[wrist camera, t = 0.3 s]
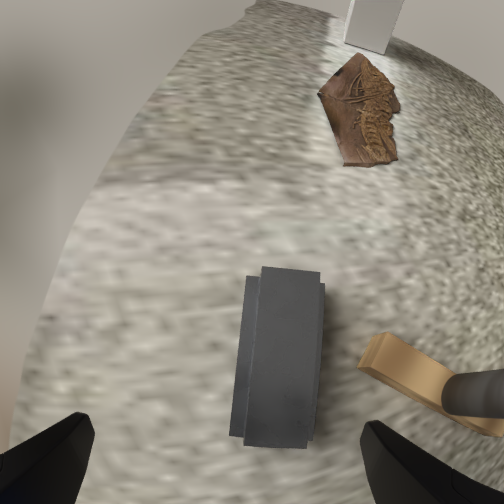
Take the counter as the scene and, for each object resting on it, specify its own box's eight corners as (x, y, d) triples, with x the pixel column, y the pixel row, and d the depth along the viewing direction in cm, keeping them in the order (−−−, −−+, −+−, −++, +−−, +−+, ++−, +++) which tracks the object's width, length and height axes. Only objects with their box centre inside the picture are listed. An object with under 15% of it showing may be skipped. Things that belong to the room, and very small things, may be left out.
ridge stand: (307, 435, 21) (321, 448, 16) (229, 430, 21) (227, 443, 16) (318, 290, 25) (334, 273, 21) (246, 282, 25) (247, 264, 21)
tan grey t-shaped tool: (495, 406, 21) (597, 399, 8) (481, 437, 20) (585, 444, 7) (373, 333, 24) (487, 289, 11) (354, 370, 23) (466, 361, 10)
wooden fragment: (394, 187, 30) (398, 181, 29) (296, 152, 31) (298, 145, 30) (397, 70, 39) (399, 65, 38) (333, 47, 40) (335, 42, 39)
